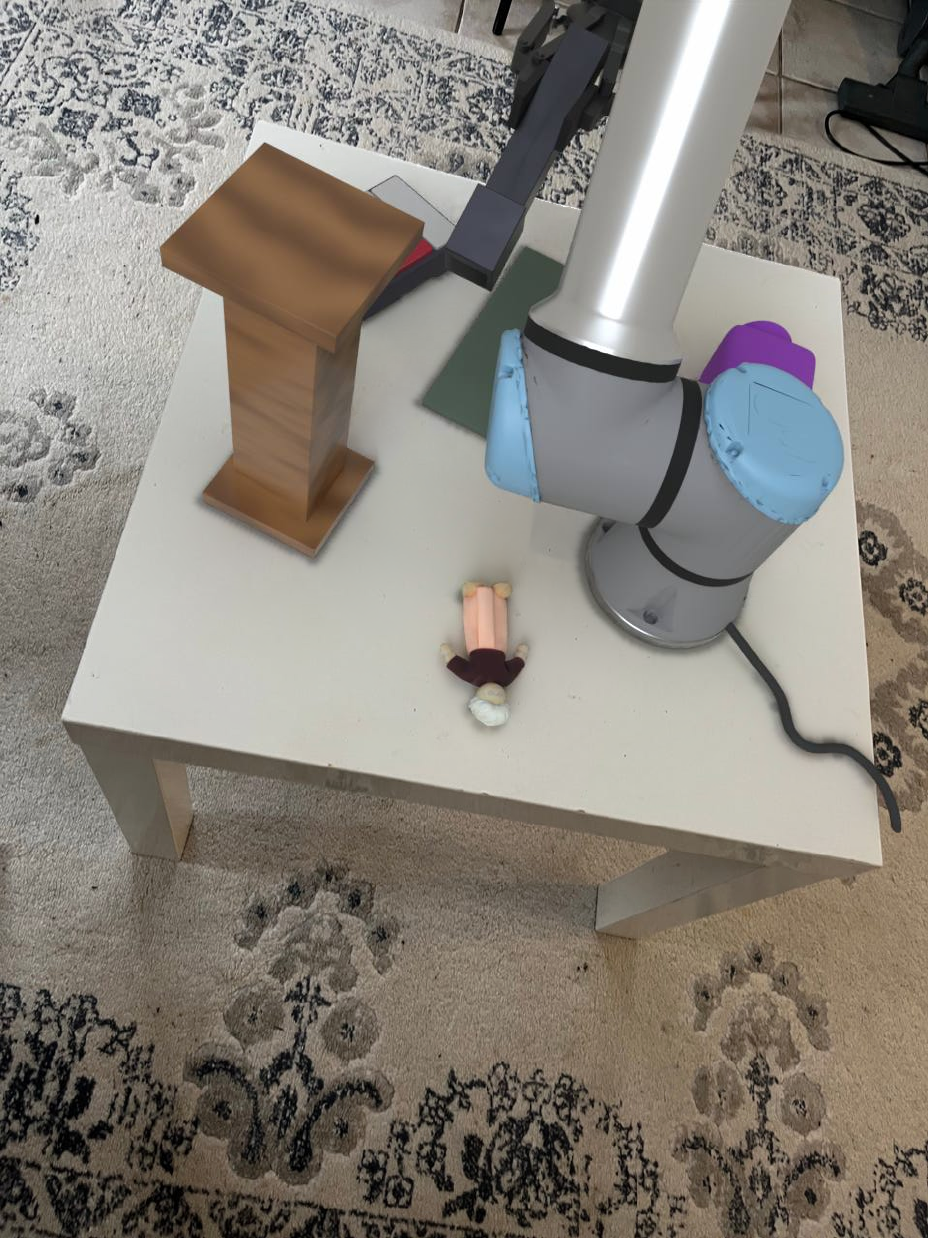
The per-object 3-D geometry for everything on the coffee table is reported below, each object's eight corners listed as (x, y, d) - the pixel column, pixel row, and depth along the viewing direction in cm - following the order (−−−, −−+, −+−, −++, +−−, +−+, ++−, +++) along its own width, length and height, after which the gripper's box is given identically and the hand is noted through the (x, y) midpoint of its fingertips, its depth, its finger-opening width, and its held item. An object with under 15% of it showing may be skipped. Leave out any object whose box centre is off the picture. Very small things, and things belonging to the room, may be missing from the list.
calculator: (287, 228, 89) (396, 166, 95) (288, 261, 93) (393, 200, 99) (361, 296, 87) (469, 229, 93) (359, 327, 91) (462, 261, 97)
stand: (267, 411, 84) (264, 140, 59) (380, 469, 83) (425, 221, 59) (194, 503, 78) (158, 246, 53) (316, 566, 78) (336, 336, 53)
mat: (524, 249, 100) (525, 245, 99) (612, 293, 99) (614, 289, 99) (421, 404, 87) (422, 400, 87) (521, 455, 87) (522, 452, 87)
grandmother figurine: (525, 576, 77) (541, 713, 71) (521, 598, 80) (536, 731, 74) (436, 579, 76) (444, 718, 70) (435, 601, 80) (443, 736, 74)
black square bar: (562, 44, 76) (568, 10, 72) (608, 67, 76) (616, 34, 72) (444, 268, 76) (444, 247, 72) (491, 292, 76) (493, 271, 72)
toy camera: (774, 375, 98) (823, 308, 90) (781, 476, 92) (834, 415, 83) (681, 354, 97) (722, 284, 88) (682, 455, 91) (726, 391, 82)
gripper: (687, 89, 87) (614, 210, 75) (535, 13, 88) (437, 121, 75) (724, 7, 81) (650, 125, 69) (559, -74, 81) (456, 29, 69)
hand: (539, 123), depth 72 cm, fingers closed on black square bar, 4 cm apart
